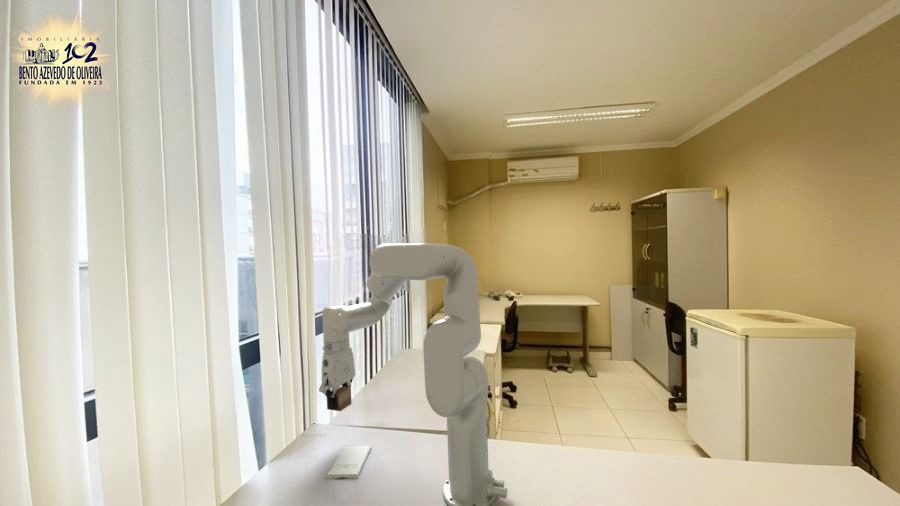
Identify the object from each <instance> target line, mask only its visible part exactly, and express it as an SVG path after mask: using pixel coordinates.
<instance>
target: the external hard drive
mask: <svg viewBox="0 0 900 506" xmlns="http://www.w3.org/2000/svg"><path fill="white" fill-rule="evenodd" d="M371 450H372V446H371V445H351V446H350V445H347V446H343V448H342V450H341V452H340V453H339V455H338V456H337V458H336V460H335V461H334V463H333V465H332V466H331V468H330V469H329V471H328V473H327V474H326V479H340V478H345V479H358V478H359V476H360V475H361V472H362V470H363V468H364V466H365V463H366V461H367V459H368V457H369V455H370V453H371Z"/></svg>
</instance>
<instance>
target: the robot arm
mask: <svg viewBox="0 0 900 506" xmlns="http://www.w3.org/2000/svg"><path fill="white" fill-rule="evenodd" d="M368 263H369V268H370V270H371V274H370V275H369V276H368V278H367V280H366V287H367V289H368V291H369V292H370V294H371V295H372V296H371V297H370V298H368V300H367V301H366V302H363V303H357V304H352V305H346V304H345V305H344V304H333V305H328V306H325V307H324V308H323V309H322V315H321V316H322V332H323V333H322V337H323V346H322V350H323V354H322V361H321V384H320V386H319V388H318V392H320V393H322V394H323V395H325V397H326V399H327V398H328V409H327V410H330V411H335V410H337V409H338V407H337V396H335V395H336V388H337V387H338V386H340V387H349V388H351V389H352V382H353V379H354V377H355V376H356V367H355V359H354V358H355V357H354V352H353V349H352V347H351V346H350V345H351V343H350V333H352V332H354V331H359V330H362V329H366V328H369V327H372V326H374V325H376V324H378V322H380V320H381V319H382V318H383V317H384V316H385V315H386V314H387V313H388V312H389V310H390V308H391V306H392V302H393V296H394V295H395V294H396V293H397V292H398V291H399V290H400V289H401V287H403V285H404V284H405V283H406V282H407V281H428V280H438V279H441V278H444V279H446V280H445V281H446V284H445V286H444V287H445V288H444V291H443V311H444V312H443V318H442V319H439V320H437V321H435V322H434V323H432V324H431V325H430V326H429V327H428V329H427V331H426V332H425V334H424V335H425V336H424V338H423V346H422V347H423V349H422V350H423V352H422V353H423V369H424V371H423V373H424V388H425V396H426V398H427V403H428V404H429V406H430V408H431V410H432V411H433V412H434V413H435V414H437V415H439V416H440V417H442V418H446V427H447V428H446V430H447V431H446V433H447V435H446V437H447V459H448V461H447V462H448V478H447V479H446V480H445V482H444V484H443V485H442V486H443V487H442V495H443V499H444V502H445V503H446V505H448V506H492V505H493V504H494V502H495V500H496V497H498V498H502V499H504V500H505V499H507V498H508V488H507V487H505V481H504V480H500V479H499V480H498V479H496V478H495V477H493V476H494V475H493V470H492V469H490V467H489V445H488V442H489V441H488V418H487V417H488V414H487V413H488V409H487V408H488V406H487V405H488V396H489V374H488V371H487V368H486V366H485V365H484V364H483V362H482V361H481V360H480V359H478V358H476V357H474V356H469V354H471V353H472V352H474V351H475V350H476V349H477V348H478V347H479V345H480V343H481V339H482V332H481V331H482V330H481V315H480V314H481V312H480V310H481V309H480V300H479V277H478V276H479V275H478V269H477V265H476V262H475V260H474V259H473V257H472V255H470V254H469V253H468V251H465V250H464V249H463V248H462V247H458V246H455V245H452V244H447V243H426V242H425V243H421V242H418V243H415V242H414V243H387V242H386V243H382V244H380V245H378V246H376V247H375V248H374V249H373V250H372V253H371V254H370V256H369V262H368ZM467 355H468V356H467ZM330 390H332V391H330Z"/></svg>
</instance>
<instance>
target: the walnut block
mask: <svg viewBox="0 0 900 506" xmlns="http://www.w3.org/2000/svg"><path fill="white" fill-rule="evenodd" d="M330 391H332V389H330ZM335 396H337V407H338V409H337V410H334V411H337V412H342V411H343V410H344V409H346V408H348V407H349V406H350V405H352V387H351V388H349V387H342V386H341V385H340V386H338V387H337V388H336V395H335ZM326 408H327V410H329V409H328V398H327V397H326Z"/></svg>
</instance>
